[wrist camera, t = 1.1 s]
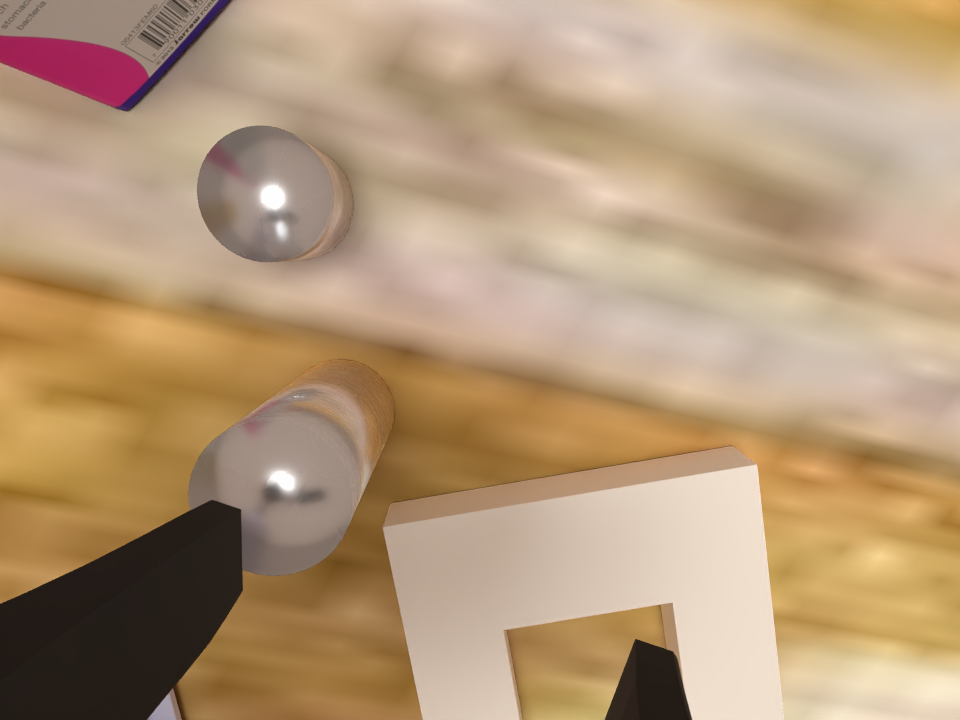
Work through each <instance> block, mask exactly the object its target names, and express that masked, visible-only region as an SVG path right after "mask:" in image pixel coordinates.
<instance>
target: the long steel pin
mask: <svg viewBox="0 0 960 720" xmlns="http://www.w3.org/2000/svg"><path fill="white" fill-rule="evenodd" d="M394 417H395V408H394V402H393V398H392V395H391V392H390V390H389V388H388V387H387V385H386V383H385V382H384V381H383V379H382V378H381V377H380V376H379V375H378V374H377V373H376V372H374V371H373V370H372V369H370V368H369V367H367V366H365V365H363V364H361V363H358V362H355V361H351V360H341V359H337V360H329V361H325V362H322V363H320V364H317V365H315V366H313V367H312V368H310V369H309V370H308V371H306V372H305V373H303V374H302V375H301V376H299V377H298V378H297V379H295V380H294V381H293V382H291V383H290V384H289V385H287V386H286V387H284V388H283V389H282V390H280V391H279V392H278V393H276V394H275V395H274V396H272V397H271V398H270V399H268V400H267V401H265V402H264V403H263V404H261V405H260V406H259V407H257V408H256V409H255V410H253V411H252V412H251V413H249V414H248V415H247V416H245V417H244V418H242V419H241V420H240V421H238V422H237V423H236V424H234V425H233V426H232V427H230V428H229V429H228V430H226V431H225V432H223V433H222V434H221V435H219V436H218V437H217V438H215V439H214V440H213V441H212V442H211V443H210V444H209V445H208V446H207V447H206V448H205V450H204V451H203V452H202V453H201V455H200V457H199V458H198V460H197V462H196V464H195V466H194V469H193V471H192V474H191V479H190V483H189V505H190V510H192V509H194V508H196V507H198V506H200V505H202V504H204V503H206V502H208V501H210V500H215V501H218V502H221V503H224V504H227V505H230V506H233V507H236V508H239V509H241V526H242V570H245V571H248V572H251V573H255V574H260V575H268V576H280V575H289V574H293V573H298V572H301V571H303V570H306V569H309V568H311V567H313V566H314V565H316V564H318V563H319V562H321V561H322V560H324V559H325V558H326V557H327V556H328V555H330V554H331V553H332V552H333V551H334V549H335V548H336V547H337V546H338V545H339V543H340V542H341V540H342V538H343V537H344V535H345V533H346V530H347V528H348V526H349V524H350V522H351V519H352V517H353V515H354V513H355V510H356V508H357V506H358V504H359V502H360V499H361V497H362V495H363V493H364V490H365V488H366V486H367V484H368V481H369V479H370V477H371V475H372V473H373V470H374V468H375V466H376V464H377V461H378V459H379V457H380V455H381V453H382V450H383V448H384V446H385V444H386V441H387V439H388V437H389V435H390V432H391V430H392V427H393V424H394Z"/></svg>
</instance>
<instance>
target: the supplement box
mask: <svg viewBox="0 0 960 720" xmlns="http://www.w3.org/2000/svg"><path fill="white" fill-rule="evenodd" d="M228 1H229V0H0V63H3V64H5V65H8V66H10V67H13V68H15V69H18V70H20V71H23V72H25V73H28V74H30V75H33V76H36V77H38V78H41V79H43V80H46V81H49V82H51V83H53V84H56V85H58V86H61V87H64V88H66V89H69V90H71V91H74V92H76V93H79V94H81V95H83V96H86V97H88V98H91V99H93V100H96V101H99V102H101V103H104V104H106V105H109V106H111V107H114V108H116V109H119V110H123V111H128V110H129V109H131V108H132V107H133V106H134V105H135V104H136V103H137V102H138V101H139V100H140V99H141V98H142V96H143V95H144V94H145V93H146V92H147V91H148V90H149V89H150V88H151V87H152V86H153V84H154V83H155V82H156V81H157V80H158V79H159V78H160V77H161V76H162V75H163V74H164V72H165V71H166V70H167V69H168V68H169V67H170V66H171V65H172V64H173V63H174V62H175V60H176V59H177V58H178V57H179V56H180V55H181V54H182V53H183V52H184V50H185V49H186V48H187V47H188V46H189V45H190V44H191V43H192V42H193V41H194V39H195V38H196V37H197V36H198V35H199V34H200V33H201V31H202V30H203V29H204V28H205V27H206V26H207V25H208V24H209V23H210V21H211V20H212V19H213V18H214V17H215V16H216V15H217V14H218V13H219V12H220V10H221V9H222V8H223V7H224V6H225V5H226V4H227V2H228Z"/></svg>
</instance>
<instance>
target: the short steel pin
mask: <svg viewBox="0 0 960 720" xmlns="http://www.w3.org/2000/svg"><path fill="white" fill-rule="evenodd" d="M197 196H198V203H199V208H200V211H201V214H202V217H203V219H204V221H205V224H206V225H207V227H208V229H209V230H210V232H211V233H212V234H213V236H214V237H215V238H216V239H217V240H218V241H219V242H220V243H221V244H222V245H223V246H224V247H226V248H227V249H228V250H230V251H231V252H233V253H235V254H237V255H239V256H241V257H243V258H246V259H250V260H253V261H259V262H279V261H293V260H306V259H312V258H316V257H319V256H321V255H323V254H325V253H327V252H329V251H330V250H332V249H333V248H334V247H335V246H336V245H337V244H338V243H339V242H340V241H341V240H342V239H343V237H344V236H345V234H346V232H347V231H348V228H349V226H350V223H351V220H352V216H353V195H352V191H351V187H350V184H349V182H348V179H347V178H346V176H345V174H344V172H343V171H342V170H341V168H340V167H339V166H338V165H337V164H336V163H335V162H334V161H333V160H332V159H331V158H329V157H328V156H327V155H325V154H324V153H322V152H320V151H319V150H317V149H316V148H314V147H313V146H311V145H309V144H308V143H306V142H305V141H303V140H302V139H300V138H298V137H297V136H295V135H294V134H292V133H290V132H287V131H285V130H282V129H279V128H276V127H270V126H250V127H245V128H241V129H239V130H236V131H234V132H232V133H230V134H228V135H226V136H225V137H223V138H222V139H221V140H220V141H218V142H217V143H216V144H215V145H214V147H213V148H212V149H211V150H210V152H209V153H208V154H207V156H206V158H205V160H204V162H203V164H202V167H201V169H200V173H199V177H198V185H197Z"/></svg>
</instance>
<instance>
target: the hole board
mask: <svg viewBox="0 0 960 720" xmlns="http://www.w3.org/2000/svg"><path fill="white" fill-rule="evenodd" d="M383 531H384V536H385V541H386V546H387V551H388V555H389V560H390V565H391V570H392V574H393V579H394V584H395V589H396V594H397V598H398V603H399V608H400V613H401V617H402V622H403V627H404V632H405V637H406V641H407V646H408V651H409V656H410V661H411V665H412V670H413V675H414V680H415V684H416V689H417V694H418V699H419V704H420V708H421V713H422V718H423V720H523V718H522V712H521V707H520V701H519V696H518V690H517V685H516V679H515V674H514V668H513V663H512V657H511V652H510V646H509V640H508V635H507V630H508V629H514V628H520V627H526V626H532V625H538V624H545V623H551V622H557V621H563V620H569V619H575V618H581V617H587V616H593V615H599V614H605V613H612V612H618V611H624V610H630V609H636V608H642V607H648V606H654V605H660V606H661V613H662V621H663V628H664V635H665V642H666V649H667V650H670V651H673V652H674V654H675V655H676V657H677V659H678V663H679V668H680V673H681V677H682V681H683V686H684V690H685V694H686V698H687V702H688V705H689V709H690V713H691V716H692V720H784V713H783V703H782V694H781V685H780V675H779V666H778V656H777V647H776V638H775V628H774V619H773V609H772V600H771V590H770V581H769V572H768V562H767V553H766V543H765V534H764V525H763V515H762V506H761V496H760V487H759V478H758V468H757V464H756V463H754V462H753V461H752V460H751V459H749V458H748V457H747V456H745V455H744V454H743V453H741V452H740V451H739V450H737V449H736V448H735V447H733V446H728V447H723V448H717V449H711V450H705V451H699V452H693V453H687V454H681V455H675V456H669V457H663V458H657V459H651V460H645V461H639V462H633V463H627V464H621V465H615V466H610V467H604V468H598V469H592V470H586V471H580V472H574V473H568V474H562V475H556V476H550V477H544V478H538V479H532V480H526V481H520V482H514V483H508V484H502V485H497V486H491V487H485V488H479V489H473V490H467V491H461V492H455V493H449V494H443V495H437V496H431V497H425V498H419V499H413V500H407V501H401V502H395V503H390V506H389V509H388V512H387V515H386V518H385V521H384V525H383Z"/></svg>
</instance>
